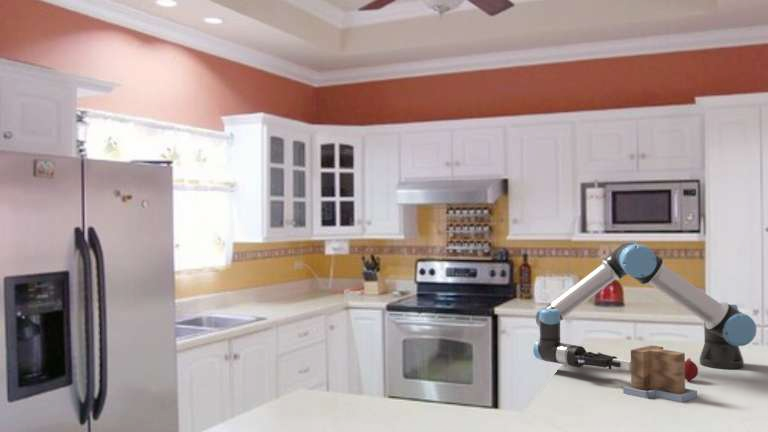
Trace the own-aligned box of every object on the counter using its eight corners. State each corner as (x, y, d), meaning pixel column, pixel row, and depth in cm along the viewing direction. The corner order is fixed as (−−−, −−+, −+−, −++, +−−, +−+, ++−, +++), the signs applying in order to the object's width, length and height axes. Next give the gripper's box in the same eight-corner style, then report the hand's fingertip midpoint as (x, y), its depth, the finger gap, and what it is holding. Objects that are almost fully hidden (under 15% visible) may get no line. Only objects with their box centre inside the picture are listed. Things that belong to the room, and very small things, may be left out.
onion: (699, 383, 242) (699, 360, 242) (682, 382, 243) (681, 359, 243) (696, 379, 248) (695, 356, 248) (678, 378, 249) (678, 356, 249)
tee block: (691, 394, 228) (690, 351, 228) (671, 401, 221) (670, 356, 221) (651, 386, 239) (650, 345, 239) (631, 392, 232) (630, 350, 232)
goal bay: (703, 394, 228) (703, 388, 228) (675, 404, 217) (675, 398, 217) (651, 384, 242) (651, 378, 242) (623, 393, 231) (623, 387, 231)
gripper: (582, 363, 261) (641, 373, 242) (561, 368, 252) (619, 380, 234) (582, 342, 261) (641, 352, 242) (560, 347, 252) (619, 357, 234)
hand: (630, 365), depth 238 cm, fingers closed
